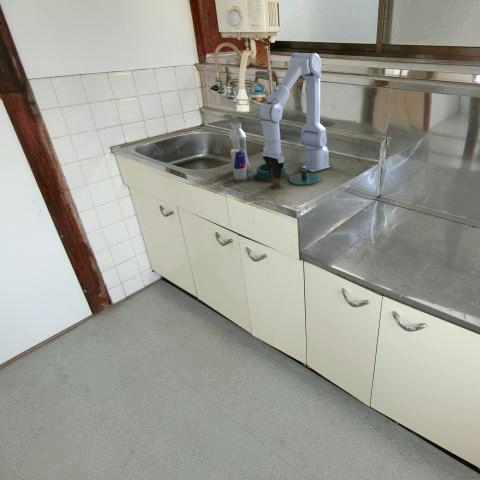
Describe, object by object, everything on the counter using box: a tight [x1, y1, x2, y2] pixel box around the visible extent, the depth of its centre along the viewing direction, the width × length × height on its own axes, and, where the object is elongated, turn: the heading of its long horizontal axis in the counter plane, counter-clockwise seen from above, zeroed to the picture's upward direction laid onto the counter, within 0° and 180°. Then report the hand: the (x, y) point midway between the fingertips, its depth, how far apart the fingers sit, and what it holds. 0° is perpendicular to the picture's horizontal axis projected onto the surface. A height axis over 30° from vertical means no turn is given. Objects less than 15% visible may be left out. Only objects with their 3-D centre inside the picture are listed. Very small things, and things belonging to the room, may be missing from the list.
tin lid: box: [288, 168, 321, 187], centre depth 140 cm, size 12×12×4 cm
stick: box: [271, 168, 281, 189], centre depth 134 cm, size 2×2×8 cm
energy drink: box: [230, 148, 249, 182], centre depth 140 cm, size 5×5×12 cm
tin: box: [256, 162, 286, 181], centre depth 145 cm, size 11×11×4 cm
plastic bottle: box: [229, 121, 251, 172], centre depth 146 cm, size 6×7×20 cm
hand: (275, 176), depth 133 cm, fingers open, 3 cm apart
